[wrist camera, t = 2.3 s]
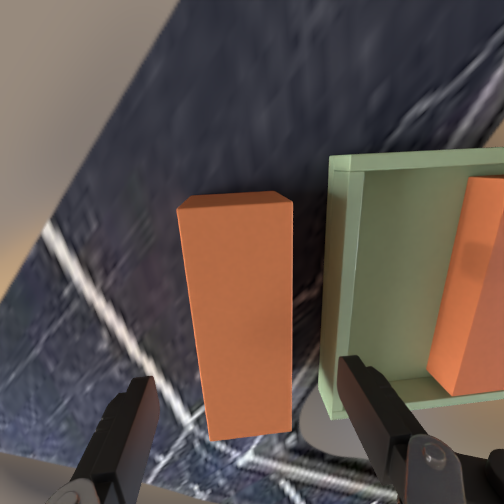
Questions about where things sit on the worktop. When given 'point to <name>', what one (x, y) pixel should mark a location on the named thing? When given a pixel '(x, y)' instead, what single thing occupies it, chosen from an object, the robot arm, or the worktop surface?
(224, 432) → the orange block
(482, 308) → the pad
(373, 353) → the pad tray
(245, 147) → the worktop surface
